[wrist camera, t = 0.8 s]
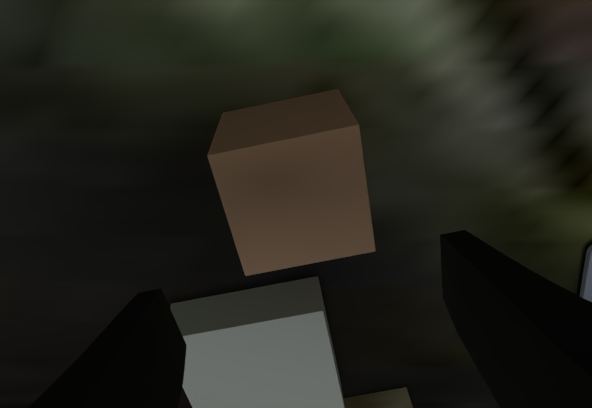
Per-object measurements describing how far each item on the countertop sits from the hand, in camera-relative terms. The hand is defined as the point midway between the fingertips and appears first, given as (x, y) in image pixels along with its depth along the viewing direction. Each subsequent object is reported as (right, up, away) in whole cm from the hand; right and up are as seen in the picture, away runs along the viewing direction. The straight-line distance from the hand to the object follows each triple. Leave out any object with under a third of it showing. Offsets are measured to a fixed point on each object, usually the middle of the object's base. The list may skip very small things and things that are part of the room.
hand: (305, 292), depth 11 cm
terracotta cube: (0, +5, +8) cm, 10 cm away
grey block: (-2, -6, +14) cm, 15 cm away
